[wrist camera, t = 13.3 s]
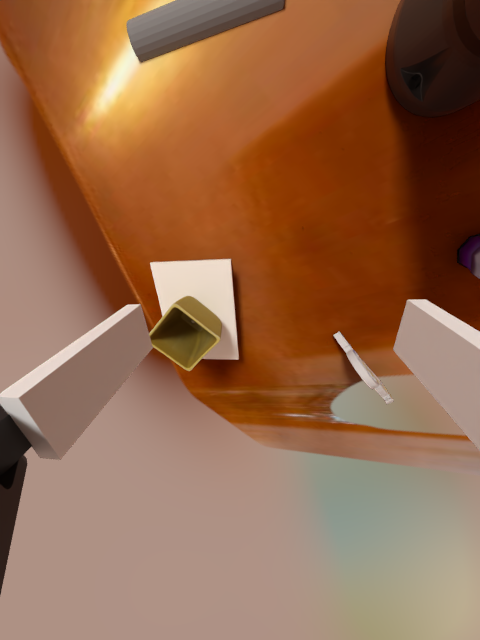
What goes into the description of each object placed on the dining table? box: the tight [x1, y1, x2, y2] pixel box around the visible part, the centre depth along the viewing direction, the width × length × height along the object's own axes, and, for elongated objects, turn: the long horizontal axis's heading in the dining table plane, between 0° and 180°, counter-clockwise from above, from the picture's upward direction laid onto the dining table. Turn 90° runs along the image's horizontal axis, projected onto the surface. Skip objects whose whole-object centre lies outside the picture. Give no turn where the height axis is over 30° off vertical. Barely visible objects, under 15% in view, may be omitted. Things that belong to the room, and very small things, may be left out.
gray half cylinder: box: [127, 0, 284, 62], centre depth 27 cm, size 4×20×2 cm, turn 101°
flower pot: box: [149, 296, 222, 371], centre depth 38 cm, size 9×9×9 cm
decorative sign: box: [333, 331, 394, 404], centre depth 45 cm, size 18×1×10 cm, turn 43°
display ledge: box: [150, 259, 239, 360], centre depth 44 cm, size 14×20×4 cm
